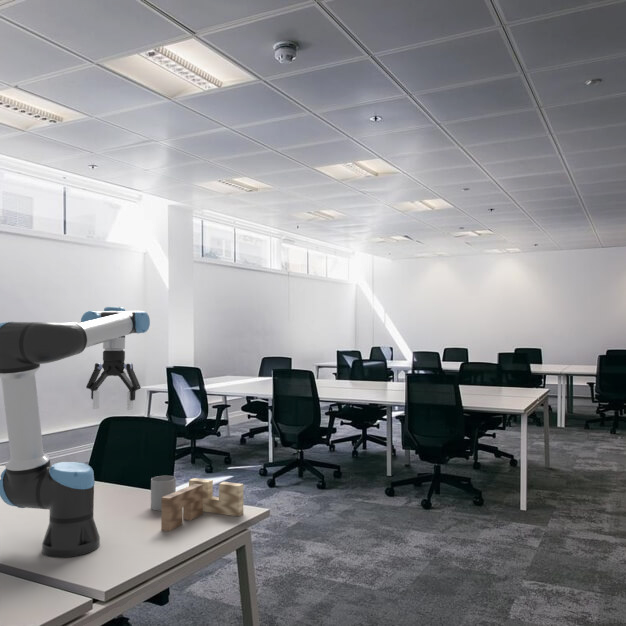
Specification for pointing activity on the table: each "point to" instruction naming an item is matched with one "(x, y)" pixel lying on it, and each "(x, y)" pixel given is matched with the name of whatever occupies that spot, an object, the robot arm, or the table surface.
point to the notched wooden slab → (221, 497)
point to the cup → (161, 490)
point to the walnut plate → (181, 506)
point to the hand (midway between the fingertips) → (112, 409)
